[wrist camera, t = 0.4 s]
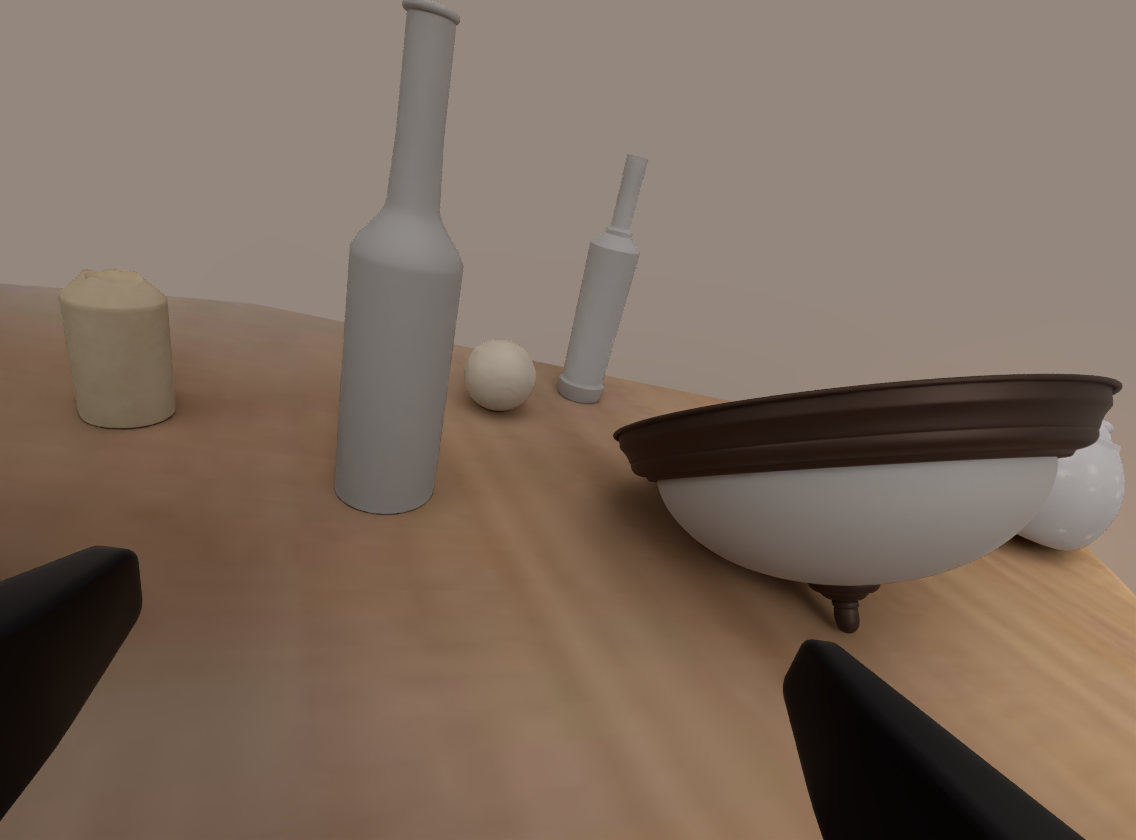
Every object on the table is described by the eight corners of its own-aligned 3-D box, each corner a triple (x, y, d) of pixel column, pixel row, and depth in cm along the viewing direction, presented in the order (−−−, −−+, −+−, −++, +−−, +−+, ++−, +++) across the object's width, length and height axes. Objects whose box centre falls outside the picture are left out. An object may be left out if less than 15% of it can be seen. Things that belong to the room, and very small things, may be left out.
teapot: (878, 438, 67) (945, 337, 62) (1035, 511, 63) (1121, 409, 58) (912, 492, 50) (1008, 359, 45) (1130, 597, 46) (1263, 463, 41)
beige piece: (455, 333, 53) (477, 385, 58) (452, 377, 48) (477, 431, 52) (522, 316, 53) (538, 369, 57) (527, 359, 47) (545, 414, 52)
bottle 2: (600, 391, 64) (661, 164, 54) (600, 408, 60) (667, 162, 49) (558, 381, 64) (611, 151, 54) (554, 397, 59) (611, 148, 49)
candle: (150, 434, 37) (134, 291, 33) (57, 422, 36) (30, 273, 32) (191, 401, 42) (181, 273, 38) (110, 390, 41) (92, 257, 37)
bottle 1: (314, 498, 35) (333, -35, 24) (361, 453, 41) (395, 10, 30) (413, 524, 35) (480, 1, 23) (446, 474, 41) (512, 39, 29)
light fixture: (1343, 801, 15) (1235, 329, 17) (537, 667, 30) (527, 429, 32) (1097, 604, 38) (1063, 414, 40) (709, 585, 53) (698, 449, 55)
